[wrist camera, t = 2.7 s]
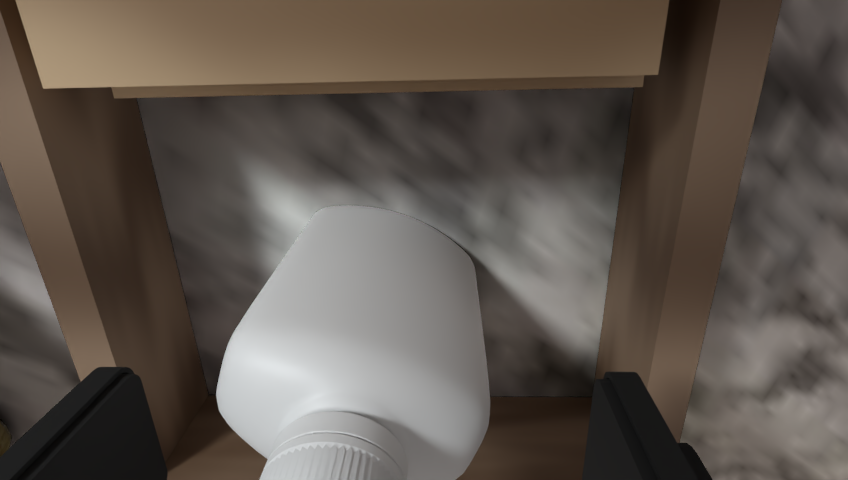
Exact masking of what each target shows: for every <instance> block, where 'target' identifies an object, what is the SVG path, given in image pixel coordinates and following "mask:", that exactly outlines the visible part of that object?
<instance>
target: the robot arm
mask: <svg viewBox="0 0 848 480" xmlns="http://www.w3.org/2000/svg"><path fill="white" fill-rule="evenodd" d="M167 475H168V472H167V467H166V464H165V460H164V457H163V453H162V450H161V446H160V443H159V440H158V436H157V433H156V429H155V426H154V422H153V419H152V415H151V412H150V408H149V405H148V402H147V398H146V395H145V391H144V388H143V384H142V381H141V378H140V377H139V376H138V375H136V374H134V372H133V370H132V369H131V368H128V367H98V368H96V369H95V370H93V371H92V372H91V373H90V374H89V375H88V376H87V377H86V378H84V379H83V380H82V381H81V382H80V383H79V384H78V385H77V386H76V387H75V388H74V389H73V390H72V391H71V392H69V393H68V394H67V395H66V396H65V397H64V398H63V399H62V400H61V401H60V402H59V403H58V404H57V405H55V406H54V407H53V408H52V409H51V410H50V411H49V412H48V413H47V414H46V415H45V416H44V417H43V418H41V419H40V420H39V421H38V422H37V423H36V424H35V425H34V426H33V427H32V428H31V429H30V430H29V431H28V432H26V433H25V434H24V435H23V436H22V437H21V438H20V439H19V440H18V441H17V442H16V443H15V444H14V445H12V446H11V447H10V448H9V449H8V450H7V451H6V452H5V453H4V454H3V455H2V456H1V457H0V480H167ZM582 480H712V478H711V476H710V475H709V473H708V471H707V470H706V468H705V466H704V465H703V463H702V461H701V460H700V458H699V456H698V455H697V453H696V452H695V450H694V449H693V448H692V447H691V446H690V445H689V444H687V443H677V442H676V440H675V438H674V436H673V435H672V433H671V431H670V429H669V427H668V426H667V424H666V422H665V420H664V419H663V417H662V415H661V413H660V411H659V410H658V408H657V406H656V404H655V403H654V401H653V399H652V397H651V396H650V394H649V392H648V390H647V388H646V387H645V385H644V383H643V381H642V380H641V378H640V376H639V375H638V373H636V372H605V374H604V377H603V379H596V380H595V382H594V388H593V396H592V404H591V412H590V420H589V428H588V435H587V443H586V451H585V459H584V467H583V474H582Z"/></svg>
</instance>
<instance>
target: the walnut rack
mask: <svg viewBox="0 0 848 480" xmlns="http://www.w3.org/2000/svg"><path fill="white" fill-rule="evenodd" d="M781 3H782V0H669V6H668V13H667V19H666V26H665V32H664V39H663V45H662V52H661V59H660V65H659V72H658V75H644V82H643V87H634V94H633V101H632V109H631V116H630V124H629V131H628V138H627V146H626V153H625V160H624V168H623V175H622V182H621V190H620V197H619V205H618V212H617V219H616V227H615V234H614V241H613V249H612V256H611V263H610V271H609V278H608V286H607V293H606V300H605V308H604V315H603V322H602V330H601V337H600V344H599V352H598V359H597V367H596V374H595V380H596V379H603V377H604V374H605V372H636V373H638V375H639V376H640V378H641V380H642V381H643V383H644V385H645V387H646V388H647V390H648V392H649V394H650V396H651V397H652V399H653V401H654V403H655V404H656V406H657V408H658V410H659V411H660V413H661V415H662V417H663V419H664V420H665V422H666V424H667V426H668V427H669V429H670V431H671V433H672V435H673V436H674V438H675V440H676V442H677V443H679V442H680V438H681V434H682V429H683V425H684V421H685V416H686V412H687V408H688V403H689V399H690V395H691V391H692V386H693V382H694V378H695V373H696V369H697V365H698V360H699V356H700V352H701V348H702V343H703V339H704V335H705V330H706V326H707V322H708V317H709V313H710V309H711V305H712V300H713V296H714V292H715V287H716V283H717V279H718V274H719V270H720V266H721V261H722V257H723V253H724V249H725V244H726V240H727V236H728V231H729V227H730V223H731V218H732V214H733V210H734V206H735V201H736V197H737V193H738V188H739V184H740V180H741V175H742V171H743V167H744V163H745V158H746V154H747V150H748V145H749V141H750V137H751V132H752V128H753V124H754V120H755V115H756V111H757V107H758V102H759V98H760V94H761V89H762V85H763V81H764V77H765V72H766V68H767V64H768V59H769V55H770V51H771V46H772V42H773V38H774V34H775V29H776V25H777V21H778V16H779V12H780V8H781ZM0 163H1V165H2V168H3V171H4V174H5V176H6V179H7V182H8V185H9V187H10V190H11V193H12V195H13V198H14V201H15V204H16V206H17V209H18V212H19V215H20V217H21V220H22V223H23V226H24V228H25V231H26V234H27V237H28V239H29V242H30V245H31V247H32V250H33V253H34V256H35V258H36V261H37V264H38V267H39V269H40V272H41V275H42V278H43V280H44V283H45V286H46V288H47V291H48V294H49V297H50V299H51V302H52V305H53V308H54V310H55V313H56V316H57V319H58V321H59V324H60V327H61V329H62V332H63V335H64V338H65V340H66V343H67V346H68V349H69V351H70V354H71V357H72V360H73V362H74V365H75V368H76V370H77V373H78V376H79V379H80V381H82V380H83V379H84V378H86V377H87V376H88V375H89V374H90V373H91V372H92V371H93V370H95V369H96V368H98V367H128V368H131V369H132V370H133V372H134V374H136V375H138V376H139V377H140V378H141V381H142V384H143V388H144V391H145V395H146V398H147V402H148V405H149V408H150V412H151V415H152V419H153V422H154V426H155V429H156V433H157V436H158V440H159V443H160V446H161V450H162V453H163V457H164V460H165V464H166V467H167V472H168V475H167V480H259V479H260V477H261V474H262V472H263V469H264V467H265V465H266V462H267V460H268V459H267V458H265V457H264V456H262V455H261V454H260V453H258V452H257V451H256V450H255V449H254V448H252V447H251V446H250V445H249V444H248V443H247V442H245V441H244V440H243V439H242V438H241V437H240V436H239V435H238V434H237V433H236V432H235V431H234V430H233V429H232V428H231V427H230V426H229V425H228V424H227V422H226V421H225V419H224V418H223V417H222V415H221V413H220V412H219V409H218V404H217V399H216V395H208V391H207V387H206V383H205V378H204V374H203V370H202V366H201V362H200V358H199V354H198V350H197V346H196V342H195V337H194V333H193V329H192V325H191V321H190V317H189V313H188V309H187V305H186V301H185V296H184V292H183V288H182V284H181V280H180V276H179V272H178V268H177V264H176V260H175V255H174V251H173V247H172V243H171V239H170V235H169V231H168V227H167V223H166V219H165V214H164V210H163V206H162V202H161V198H160V194H159V190H158V186H157V182H156V178H155V173H154V169H153V165H152V161H151V157H150V153H149V149H148V145H147V141H146V137H145V132H144V128H143V124H142V120H141V116H140V112H139V108H138V104H137V100H136V98H114V96H113V92H112V88H111V87H92V88H48V89H43V87H42V83H41V80H40V77H39V74H38V71H37V67H36V64H35V61H34V58H33V55H32V51H31V48H30V45H29V42H28V39H27V35H26V32H25V29H24V26H23V23H22V20H21V16H20V13H19V10H18V7H17V4H16V0H0ZM594 382H595V381H594ZM591 404H592V397H490V417H489V425H488V429H487V431H486V434H485V436H484V439H483V441H482V443H481V445H480V447H479V449H478V451H477V452H476V454H475V456H474V458H473V459H472V461H471V463H470V464H469V466H468V467H467V469H466V470H465V472H464V473H463V474H462V475H461V476H460V477H458V478H457V479H456V480H582V474H583V467H584V459H585V451H586V443H587V435H588V428H589V420H590V412H591Z"/></svg>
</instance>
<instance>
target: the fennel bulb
mask: <svg viewBox="0 0 848 480" xmlns="http://www.w3.org/2000/svg"><path fill="white" fill-rule="evenodd" d="M10 441H11V434H10V433H9V431H8V429H7V426H6V425H5V424H3V423H2V422H1V421H0V457H1V456H2V455H3V454H4V453H5V452H6V451H7V450H8V449H9V447H10Z"/></svg>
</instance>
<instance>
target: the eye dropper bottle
mask: <svg viewBox="0 0 848 480" xmlns="http://www.w3.org/2000/svg"><path fill="white" fill-rule="evenodd" d="M216 399H217V404H218V409H219V412H220V413H221V415H222V417H223V418H224V419H225V421H226V422H227V424H228V425H229V426H230V427H231V428H232V429H233V430H234V431H235V432H236V433H237V434H238V435H239V436H240V437H241V438H242V439H243V440H244V441H245V442H247V443H248V444H249V445H250V446H251V447H252V448H254V449H255V450H256V451H257V452H258V453H260V454H261V455H262V456H264V457H265V458H267V459H268V460H267V462H266V465H265V467H264V469H263V472H262V474H261V477H260V479H259V480H456V479H457V478H458V477H460V476H461V475H462V474H463V473H464V472H465V470H466V469H467V467H468V466H469V464H470V463H471V461H472V459H473V458H474V456H475V454H476V452H477V451H478V449H479V447H480V445H481V443H482V441H483V439H484V436H485V434H486V431H487V429H488V425H489V417H490V391H489V380H488V369H487V360H486V352H485V344H484V336H483V327H482V319H481V311H480V303H479V296H478V288H477V280H476V273H475V267H474V264H473V262H472V260H471V258H470V257H469V255H468V254H467V253H466V252H465V251H464V250H463V249H462V248H461V247H459V246H458V245H457V244H456V243H455V242H453V241H452V240H451V239H449V238H448V237H447V236H445V235H444V234H442V233H441V232H439V231H438V230H436V229H434V228H433V227H431V226H429V225H427V224H425V223H423V222H421V221H419V220H417V219H415V218H412V217H409V216H407V215H404V214H401V213H398V212H394V211H390V210H386V209H381V208H376V207H369V206H357V205H339V206H329V207H325V208H323V209H321V210H318V211H316V213H315V214H314V215H313V216H312V218H311V219H310V221H309V222H308V223H307V225H306V226H305V228H304V229H303V231H302V232H301V233H300V235H299V236H298V238H297V239H296V241H295V242H294V243H293V245H292V246H291V248H290V249H289V251H288V252H287V253H286V255H285V256H284V258H283V259H282V261H281V262H280V264H279V265H278V266H277V268H276V269H275V271H274V272H273V274H272V275H271V277H270V278H269V280H268V281H267V282H266V284H265V285H264V287H263V288H262V290H261V291H260V293H259V294H258V296H257V297H256V298H255V300H254V301H253V303H252V304H251V306H250V307H249V309H248V310H247V312H246V314H245V315H244V317H243V318H242V320H241V321H240V323H239V324H238V326H237V327H236V329H235V331H234V332H233V334H232V336H231V338H230V341H229V343H228V345H227V348H226V351H225V354H224V358H223V362H222V366H221V370H220V375H219V379H218V384H217V391H216Z"/></svg>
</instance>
